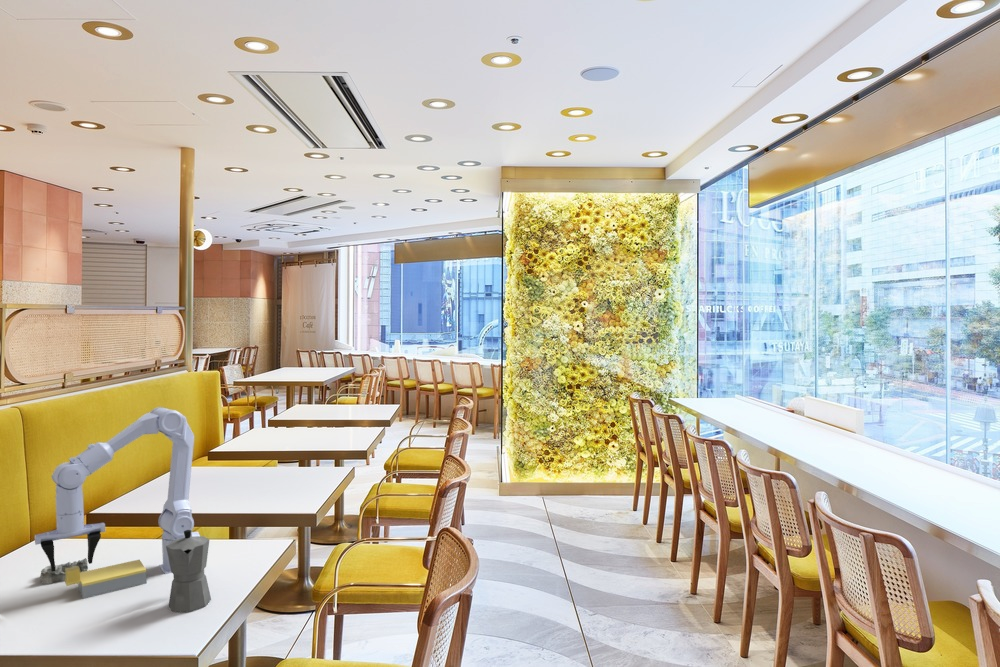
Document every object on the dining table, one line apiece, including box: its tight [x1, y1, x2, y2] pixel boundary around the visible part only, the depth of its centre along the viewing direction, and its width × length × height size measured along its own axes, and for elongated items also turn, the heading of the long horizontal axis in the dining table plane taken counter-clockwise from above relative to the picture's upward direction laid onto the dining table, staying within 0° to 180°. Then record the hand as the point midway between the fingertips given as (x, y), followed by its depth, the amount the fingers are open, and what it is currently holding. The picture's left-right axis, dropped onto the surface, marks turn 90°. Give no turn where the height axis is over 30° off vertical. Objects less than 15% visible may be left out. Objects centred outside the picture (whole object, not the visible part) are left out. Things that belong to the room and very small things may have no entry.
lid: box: [64, 559, 147, 587], centre depth 169 cm, size 17×9×4 cm, turn 128°
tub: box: [77, 571, 148, 600], centre depth 170 cm, size 14×9×4 cm, turn 128°
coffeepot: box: [166, 530, 212, 614], centre depth 159 cm, size 15×9×18 cm, turn 25°
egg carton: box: [39, 557, 89, 585], centre depth 176 cm, size 11×8×4 cm
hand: (71, 566), depth 164 cm, fingers open, 7 cm apart
